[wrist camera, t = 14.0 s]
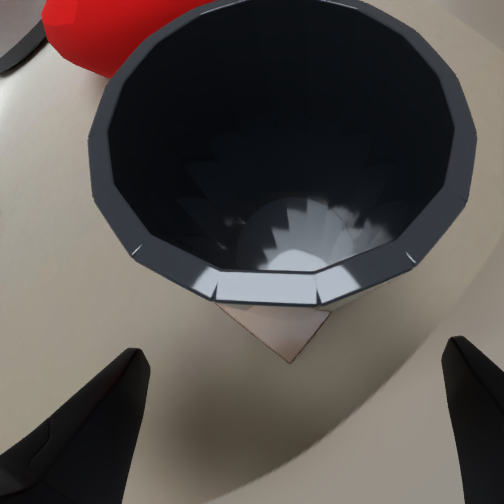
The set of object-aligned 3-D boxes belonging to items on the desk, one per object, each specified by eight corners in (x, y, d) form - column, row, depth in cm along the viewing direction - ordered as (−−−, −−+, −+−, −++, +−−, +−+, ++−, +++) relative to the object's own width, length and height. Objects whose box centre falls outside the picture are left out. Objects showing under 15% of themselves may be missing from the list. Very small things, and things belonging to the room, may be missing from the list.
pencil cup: (358, 322, 15) (503, 305, 3) (226, 317, 16) (54, 287, 4) (357, 196, 17) (420, 0, 5) (236, 195, 18) (140, 9, 6)
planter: (61, 4, 31) (30, -37, 21) (70, 28, 27) (30, -25, 17) (-2, 57, 31) (-36, 22, 21) (-5, 94, 27) (-51, 53, 17)
